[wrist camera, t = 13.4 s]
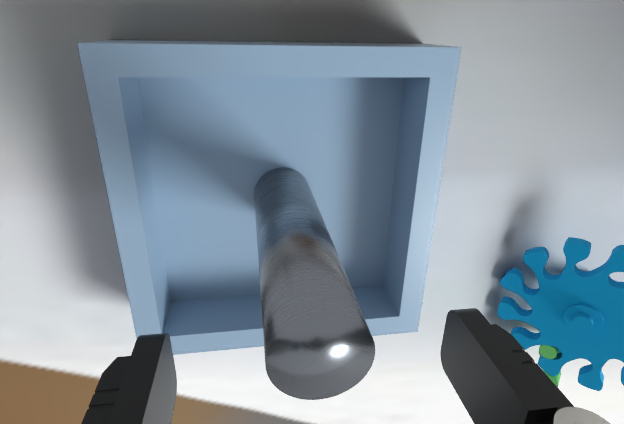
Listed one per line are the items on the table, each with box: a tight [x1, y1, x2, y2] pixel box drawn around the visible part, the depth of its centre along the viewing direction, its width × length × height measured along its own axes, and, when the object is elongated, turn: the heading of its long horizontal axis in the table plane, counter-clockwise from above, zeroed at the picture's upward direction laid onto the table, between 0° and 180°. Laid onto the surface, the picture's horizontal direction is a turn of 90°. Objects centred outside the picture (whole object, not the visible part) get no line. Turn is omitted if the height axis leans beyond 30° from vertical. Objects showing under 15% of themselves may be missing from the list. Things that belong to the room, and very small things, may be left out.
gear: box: [498, 237, 624, 391], centre depth 27 cm, size 11×6×10 cm
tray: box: [77, 40, 461, 355], centre depth 21 cm, size 15×15×4 cm
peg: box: [254, 168, 375, 400], centre depth 17 cm, size 3×3×12 cm
